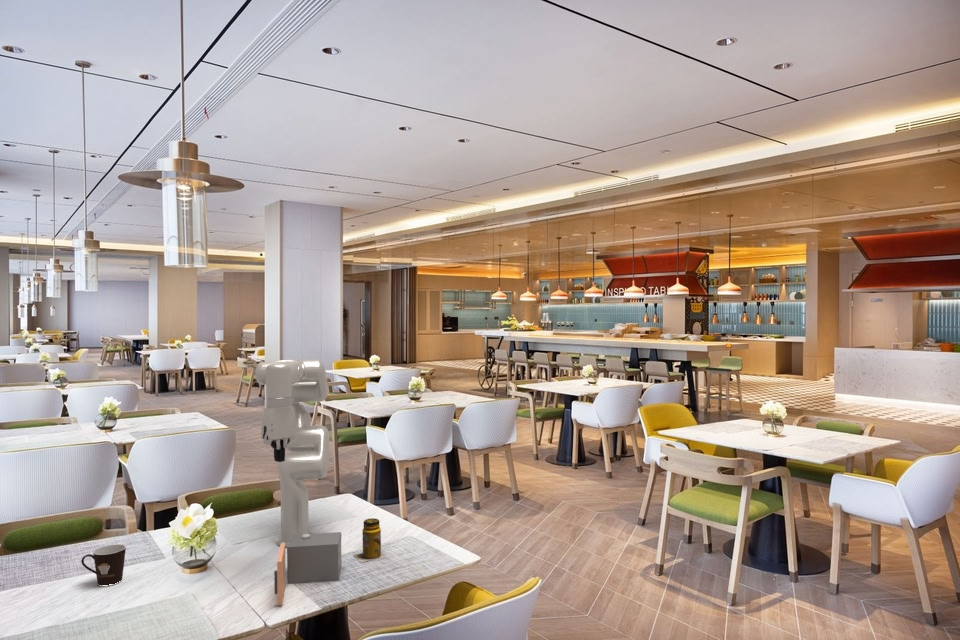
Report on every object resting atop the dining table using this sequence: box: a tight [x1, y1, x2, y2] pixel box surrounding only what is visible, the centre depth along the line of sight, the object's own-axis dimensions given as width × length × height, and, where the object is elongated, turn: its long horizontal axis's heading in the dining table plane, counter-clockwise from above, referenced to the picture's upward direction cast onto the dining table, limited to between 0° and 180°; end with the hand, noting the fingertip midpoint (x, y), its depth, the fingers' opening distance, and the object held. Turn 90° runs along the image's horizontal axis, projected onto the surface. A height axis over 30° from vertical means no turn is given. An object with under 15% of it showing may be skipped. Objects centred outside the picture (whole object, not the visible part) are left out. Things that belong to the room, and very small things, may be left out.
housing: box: [286, 531, 343, 585], centre depth 192 cm, size 11×15×12 cm
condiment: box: [353, 517, 386, 563], centre depth 207 cm, size 7×8×12 cm
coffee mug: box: [81, 544, 127, 585], centre depth 189 cm, size 12×9×10 cm
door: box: [273, 543, 286, 606], centre depth 178 cm, size 2×15×12 cm, turn 14°
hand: (279, 461), depth 194 cm, fingers closed
